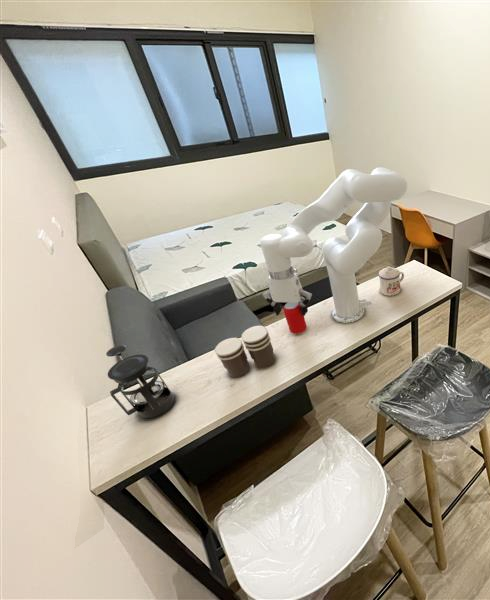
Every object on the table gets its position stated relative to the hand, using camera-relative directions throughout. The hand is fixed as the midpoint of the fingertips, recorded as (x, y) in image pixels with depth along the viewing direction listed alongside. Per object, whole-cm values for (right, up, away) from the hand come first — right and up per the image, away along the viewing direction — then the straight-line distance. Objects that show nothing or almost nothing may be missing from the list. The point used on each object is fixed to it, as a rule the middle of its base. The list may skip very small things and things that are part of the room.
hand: (291, 313), depth 116 cm
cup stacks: (-10, -17, -9) cm, 22 cm away
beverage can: (+1, -7, +5) cm, 9 cm away
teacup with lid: (+36, +9, +26) cm, 45 cm away
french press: (-33, -27, -21) cm, 48 cm away
